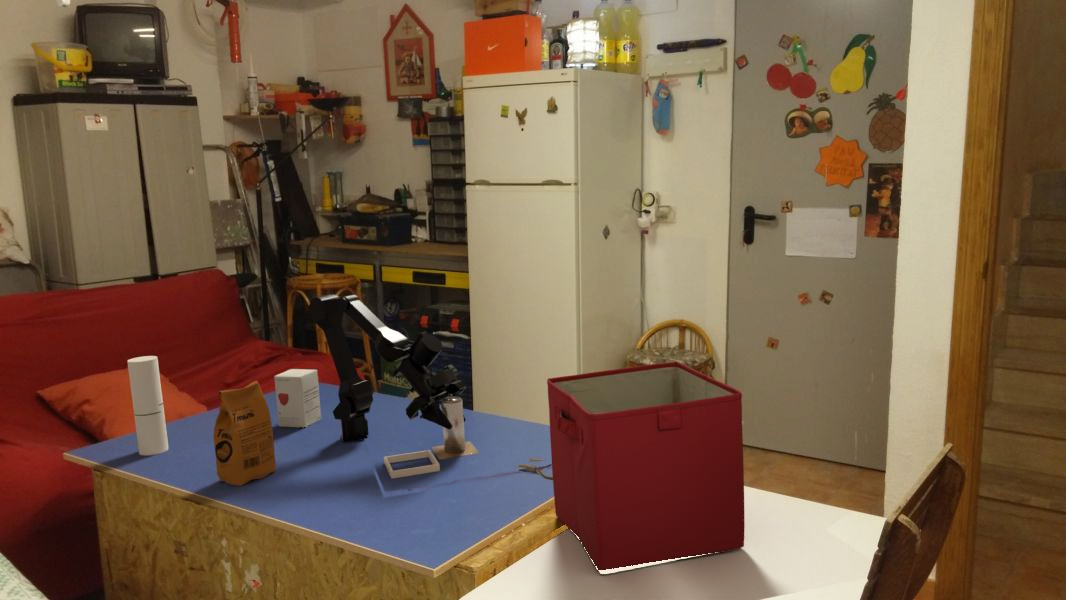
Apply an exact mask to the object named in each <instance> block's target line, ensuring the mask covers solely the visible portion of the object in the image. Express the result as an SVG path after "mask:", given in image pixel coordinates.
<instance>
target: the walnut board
mask: <svg viewBox="0 0 1066 600" xmlns="http://www.w3.org/2000/svg"><path fill="white" fill-rule="evenodd" d="M430 447H431V450H432V451H433V453H434V454H435V455H436V457H437V459H438V460H446V459H452V458H458V457H465V456H471V455H479V454H480V452H479V451H478V449H477V448H476V447H475V445H474V444H473V443H472V442H471V441H470V440H469V441H465V451H463V452H461V453H456V454H450V453H446V452H445V451H444V444H443V445H436V446H430Z"/></svg>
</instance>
